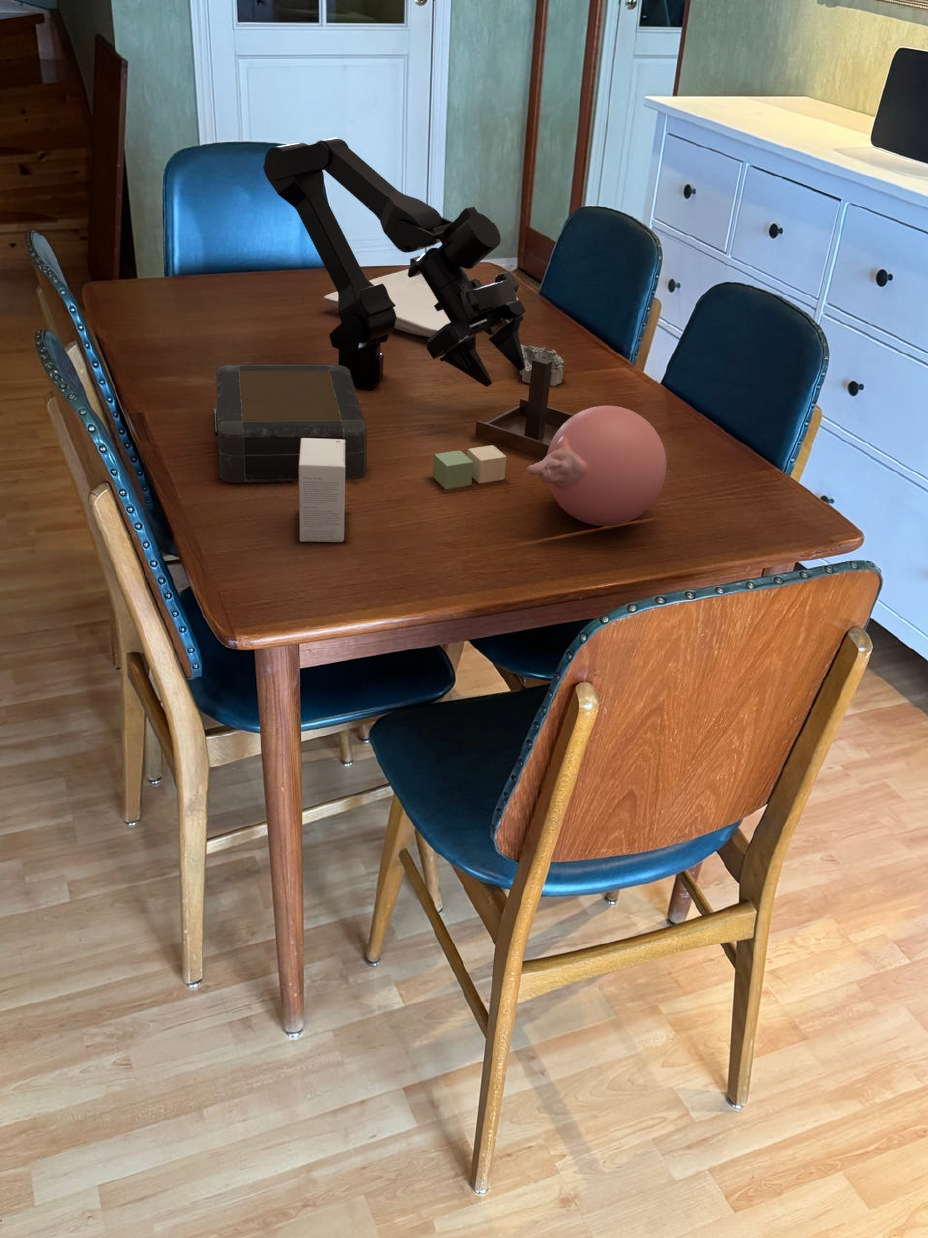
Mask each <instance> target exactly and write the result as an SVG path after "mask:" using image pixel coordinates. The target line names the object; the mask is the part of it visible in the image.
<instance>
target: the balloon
mask: <svg viewBox="0 0 928 1238" xmlns="http://www.w3.org/2000/svg"><path fill="white" fill-rule="evenodd" d="M573 415H574V416H572V417H571V418H570V419H569V420H567V421H566V422H565V423H564V424H563V425H562V426H561V427H560V429H559V430H558V431H557V433H556V434H555V436H554V438H553V439H552V441H551V444H550V446H549V449H548V453H547V456H546V457H545V458H544V459H543V460H540V461H539V462H536V463H535V464H531V465H528V467H527V468H526V472H527V474H528V475H534V476H538V478H539V481H541V482H542V483H543V484H545V485H548V487H549V490H550V492H551V494H552V496H553V498H554V500H555V501H556V502H557V504H558V505H559V507H560V508H561V509H563V510H564V512H565V513H567V514H568V515H569V516H571V517H573V518H574V519H576V520H578V521H580V522H582V523H585V524H587V525H591V526H595V527H613V526H614V527H615V526H619V525H623V524H626V523H628V522H631V521H633V520H634V519H637V518H638V517H640V516H641V515H643V514H644V513H645V512H646V511H648V510H649V508H650V507H651V506H652V505H653V504H654V503H655V501H656V500H657V498H658V497H659V495H660V493H661V492H662V489H663V485H664V483H665V480H666V475H667V455H666V449H665V447H664V444H663V442H662V439H661V437H660V435H659V434H658V432H657V430H656V429H655V428H654V426H653V425H652V424H651V423H650V422H649V421H648V420H646V419H645V417H643V416H641V415H640V414H639V413H637V412H635V411H632V410H631V409H628V408H626V407H622V406H616V405H598V406H593V407H589V408H585V409H583V410H581V411H579V412H577V413H576V414H573Z"/></svg>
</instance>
